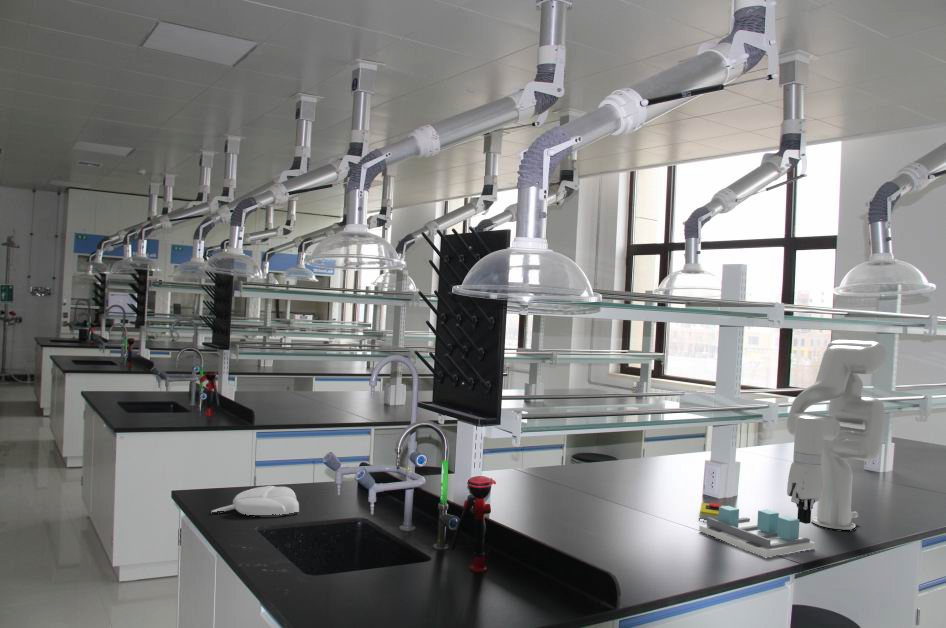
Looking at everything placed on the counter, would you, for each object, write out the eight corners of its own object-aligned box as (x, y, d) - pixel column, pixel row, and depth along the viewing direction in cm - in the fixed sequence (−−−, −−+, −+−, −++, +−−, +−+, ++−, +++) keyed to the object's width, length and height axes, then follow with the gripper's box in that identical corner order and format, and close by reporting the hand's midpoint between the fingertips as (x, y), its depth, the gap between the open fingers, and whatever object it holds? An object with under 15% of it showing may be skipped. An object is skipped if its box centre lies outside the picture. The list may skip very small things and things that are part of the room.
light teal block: (766, 527, 214) (767, 509, 214) (777, 531, 211) (778, 512, 211) (757, 529, 212) (758, 510, 212) (768, 533, 209) (769, 514, 209)
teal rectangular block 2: (786, 534, 208) (787, 515, 208) (798, 538, 204) (799, 519, 204) (777, 536, 206) (778, 517, 206) (789, 540, 203) (790, 521, 203)
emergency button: (730, 501, 237) (730, 513, 223) (730, 514, 237) (729, 527, 223) (701, 497, 241) (699, 509, 227) (700, 511, 241) (698, 523, 227)
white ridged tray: (746, 525, 224) (746, 511, 224) (814, 549, 203) (815, 534, 203) (699, 532, 215) (699, 517, 215) (765, 558, 194) (766, 542, 194)
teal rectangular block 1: (727, 523, 216) (728, 505, 216) (738, 527, 213) (739, 509, 213) (718, 525, 214) (718, 506, 214) (728, 529, 211) (729, 510, 211)
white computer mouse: (303, 515, 214) (215, 531, 203) (292, 501, 229) (209, 515, 219) (302, 493, 213) (213, 508, 203) (291, 481, 229) (208, 493, 219)
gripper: (812, 455, 215) (809, 517, 215) (779, 457, 208) (775, 520, 208) (835, 460, 208) (832, 524, 208) (801, 462, 201) (797, 528, 201)
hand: (803, 522), depth 208 cm, fingers closed
